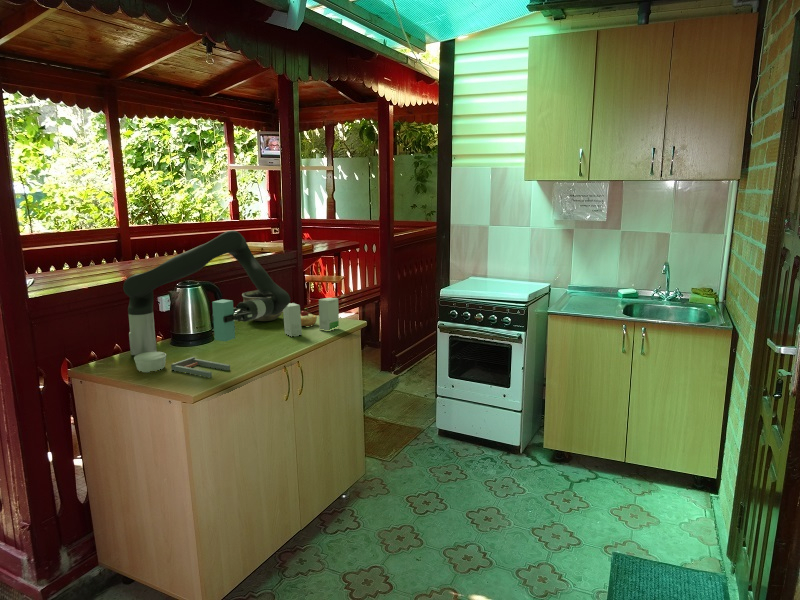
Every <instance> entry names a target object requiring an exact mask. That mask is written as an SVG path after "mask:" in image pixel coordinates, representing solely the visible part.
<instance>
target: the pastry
mask: <svg viewBox="0 0 800 600" xmlns="http://www.w3.org/2000/svg"><path fill="white" fill-rule="evenodd" d="M306 310H308V308H307V307H305V308H304V310H300V315H301V326H311V325H314V324H315V325H316V324H317V320H318V319H317V316H316V314H312V313H309V312H308V311H306ZM315 325H314V326H315ZM311 327H312V326H311Z"/></svg>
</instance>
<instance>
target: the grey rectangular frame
mask: <svg viewBox="0 0 800 600" xmlns="http://www.w3.org/2000/svg"><path fill="white" fill-rule="evenodd" d="M196 365H198V366H199V365H202V366H201V367H206V368H210V367H211V368H212V369H215V368H216V370H221V369H222V371H226V370H229V371H231V365H230V364H226V363H221V362H216V361H210V360H204V359H200V358H199V359H198V358H196V357H195V356H192V357H188V358H186V359H183V360H179V361H177V362H173V363H171V364H170V368H171V371H172V370H174V371H173V372H176V371H180V372H179V373H181V372H186V373H191V374H196V375H201V376H205V377H204V378H206V377H209V378H208V379H211V378H213V373H212V371H207V370H204V369H200V368H199V369H197V368H195V367H197V366H196ZM193 366H195V367H193ZM190 367H192V368H190ZM186 373H185V374H186ZM191 374H190V375H191ZM196 375H195V376H196ZM201 376H200V377H201ZM210 377H211V378H210Z"/></svg>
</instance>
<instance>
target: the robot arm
mask: <svg viewBox="0 0 800 600" xmlns="http://www.w3.org/2000/svg"><path fill="white" fill-rule="evenodd" d="M225 254H229V255H231V256H232V257H233V258H234V259H235V260H236V261H238V263H239V264H240V265H241V266H242V268H243V269H244V270H245V271H244V272H245V273H246V275H247V276H248V277H249V279H250V281H251V283H252V284H253V286H255V288H256V290H259V291H260V293H261V294H263V295H265V294H268V293H270V292H271V293H272V294H273V296H272V297H271V298H268V297H263V298H259V299H252V300H248V301H244V300H243V301H244V302H243V301H240V302H239V303H237V305H236V306H235V307H233V310H234V314H232V315H228V316H224V317H223V322H225V323H226V322H230V321H232V320H233V321H234V322H236V321H237V322H243V323H246V322H250V321H254V320H253V319H256V318H259V317H261V316H264V315H267V314H268V315H276V314H279V313H280V312H281V311H282V310H283V309H284V308H285V307H286V306H287V305H288V304H289V303H291V297H290V295H289V293H288V292H287V291H286V290H285V289H283V288H282V287H280V286H279V284H277V283H276V282H274V280H273V279H272V277H271V276H270V275H269V274H268V272H267V271H266V269H265V268H264V267H263V266H262V265H261V264H260V263H259V261H258V260H257V259H256V257H255V255H254V254H253V252H252V251H251V249H250V247H249V245H248V243H247V241H246V239H245V237H244V236H243V235H242V234H241V233H240V232H239V231H237V230H227V231H225V232H223V233H221V234H219V235H218V236H216V237H214V238H213V239H211V240H209V241H207V242H206V243H203V244H200V245H198V246H196V247H194V248H192V249H189V250H187V251H184V252H182V253H179V254H177V255H175V256H174V257H173V256H172V257H171V258H169V259H168V260H166V261H164V262H162V263H161V264H159V265H158V266H156V267H154V268H152V269H150V270H147V271H145V272H142V273H135V274H133V275H130V276H128V277H127V278H126V279H125V280H124V282H123V287H122V289H123V292H124V294H125V295H126V296H127V297H128V298H129V302H128V307H127V313H128V314H127V315H128V323H129V332H128V337H129V338H128V340H129V349H130V355H131V356H136V355H138V354H142V353H146V352H158V351H157V342H156V341H157V340H156V331H155V330H156V329H155V319H154V318H155V317H154V302H155V301H154V290H156V289H157V288H159V287H161V286H164V285H167V284H169V283H172V282H175V281H178V280H181V279H184V278H185V277H188V276H190V275H193V274H195V273H197V272H198V271H200V270H202V269H203V268H204V267H206V265H207V264H209V263H210V262H211V261H213V260H214V259H216V258H219V257H220V256H223V255H225ZM211 321H212V322H213V321H214V320H213V314H212V315H211Z"/></svg>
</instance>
